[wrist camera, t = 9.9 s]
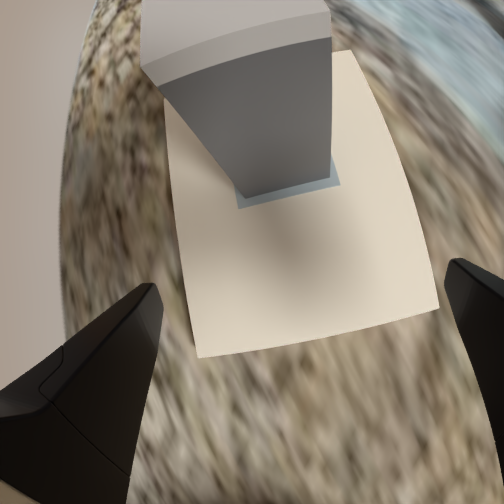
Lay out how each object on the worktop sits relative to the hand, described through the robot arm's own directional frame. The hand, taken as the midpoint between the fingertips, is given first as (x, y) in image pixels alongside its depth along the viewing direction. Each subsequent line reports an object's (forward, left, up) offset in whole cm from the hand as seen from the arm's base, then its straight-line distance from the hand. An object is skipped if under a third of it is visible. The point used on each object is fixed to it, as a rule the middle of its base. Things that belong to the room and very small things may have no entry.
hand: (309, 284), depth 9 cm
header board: (+6, 0, -9) cm, 11 cm away
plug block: (+8, -1, -8) cm, 12 cm away
